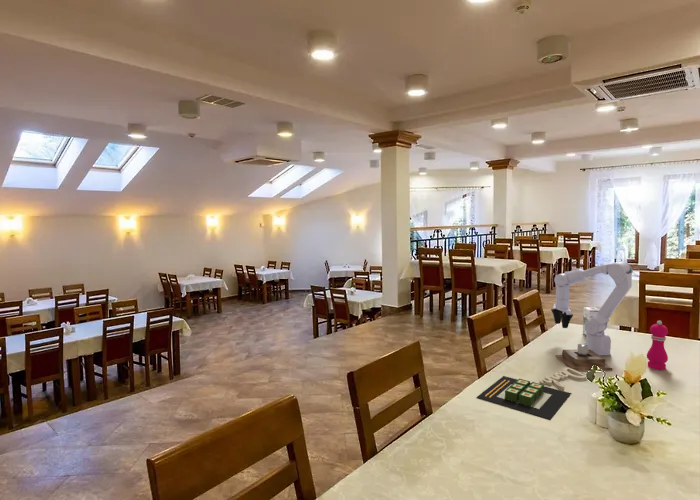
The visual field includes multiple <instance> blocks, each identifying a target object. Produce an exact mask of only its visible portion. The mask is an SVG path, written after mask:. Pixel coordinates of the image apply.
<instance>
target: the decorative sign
mask: <svg viewBox="0 0 700 500" xmlns="http://www.w3.org/2000/svg"><path fill="white" fill-rule="evenodd" d="M586 373H587V372H583V371H582V372H581V371H579V370H574V369H571V368H569V367H568V366H567V367H563V370H559V371H558V372H557V371H556V372H554V373H553V375H547V376H545V379H544V378H540V379H539V384H543V385H544V386H552V385H553V386H554V387H556V388H557V389H558V390H561V391H564V390H565V385H563V384H562V383H561V382H560V381H564V380H568V379H571V380H574V381H580V380H584V381H587V380H586Z"/></svg>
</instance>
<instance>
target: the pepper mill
mask: <svg viewBox="0 0 700 500" xmlns="http://www.w3.org/2000/svg"><path fill="white" fill-rule="evenodd" d="M649 331H650V333H651V335H650V336H651V337H650V339H651V340H652V343H651V346H650V347H649V349H648V350H647V353H646V358H647V360H648V361H647V367H648V368H650V369H652V370H656V371H657V370H658V371H664V370H666V369H667V365H666V363H667V362H668V360H669V357H668V353H667V351H666V349H665V348H666V347H665V342H666V340H667V337H666V336H667V335H668V334H669V331H668V327H666V325H663V322H662V320H657V321H656V323H654V324H652V325H651V326H650V329H649Z"/></svg>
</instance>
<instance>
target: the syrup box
mask: <svg viewBox="0 0 700 500" xmlns="http://www.w3.org/2000/svg"><path fill="white" fill-rule="evenodd" d="M599 310H600V308H597V307H594V306H586V307H585V306H584V307H583V321H582V322H583V323H582V334H583V335H585V336H586V333H587V332H586V331H585V328H584V326H585V324H586V322H588V321H590V320H591V319H592V318H593V317H594V316H595V315H596V314H597V313H598V311H599Z"/></svg>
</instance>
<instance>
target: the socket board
mask: <svg viewBox="0 0 700 500" xmlns="http://www.w3.org/2000/svg"><path fill="white" fill-rule="evenodd" d="M555 358H556V359H558V360H559V361H560V362H562V363H563V364H564V365H566V366H567V367H569V368H571V369H574V370H576V371H590V370H589V369H591V368H592V366H593V365H596V366H598V367H599V368H600V369H602V370H601V371H613V367H612V366H610V365H609V364H608V363H606V358H604V357H602V355H598V354H596V353H595V352H593V351H591V350H588V357H580V356H578V355H577V349H562V353H561V354H555Z"/></svg>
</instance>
